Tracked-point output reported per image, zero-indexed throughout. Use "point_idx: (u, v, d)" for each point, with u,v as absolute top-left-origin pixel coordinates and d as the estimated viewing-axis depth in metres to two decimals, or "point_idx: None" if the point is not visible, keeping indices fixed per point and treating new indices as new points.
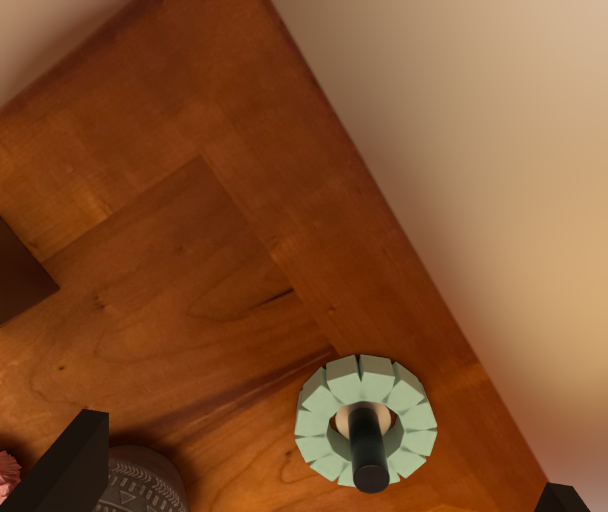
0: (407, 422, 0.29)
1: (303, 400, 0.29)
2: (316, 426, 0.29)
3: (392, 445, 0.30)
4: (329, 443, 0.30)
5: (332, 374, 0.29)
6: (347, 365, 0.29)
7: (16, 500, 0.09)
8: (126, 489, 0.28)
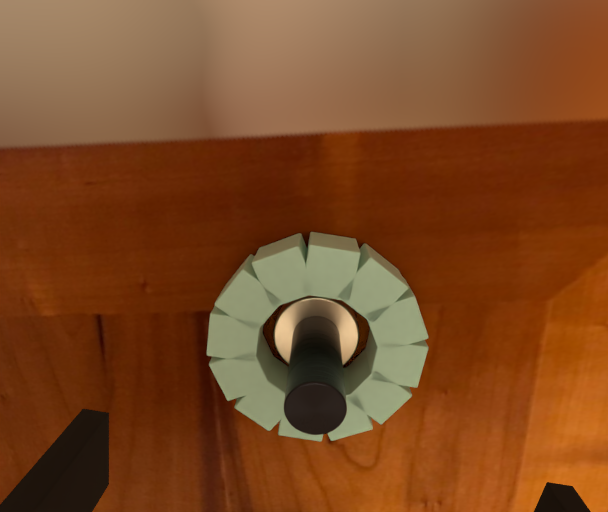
0: (328, 289, 0.18)
1: (226, 393, 0.20)
2: (270, 401, 0.20)
3: None
4: None
5: None
6: None
7: (16, 500, 0.09)
8: None
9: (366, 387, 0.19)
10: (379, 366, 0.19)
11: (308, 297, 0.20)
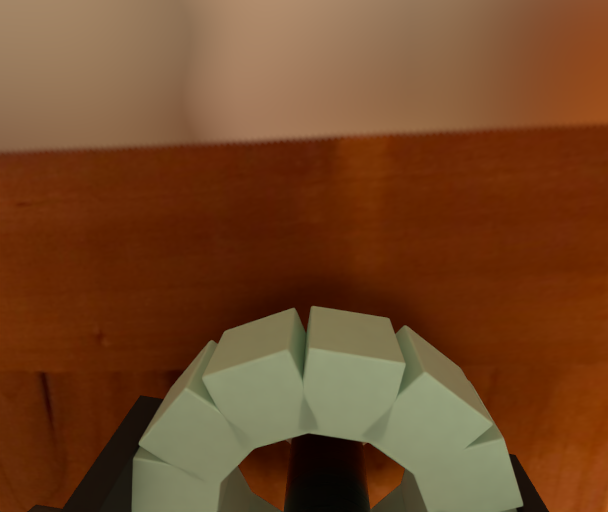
0: (344, 425, 0.10)
1: None
2: None
3: None
4: None
5: None
6: None
7: (96, 474, 0.09)
8: None
9: None
10: None
11: None
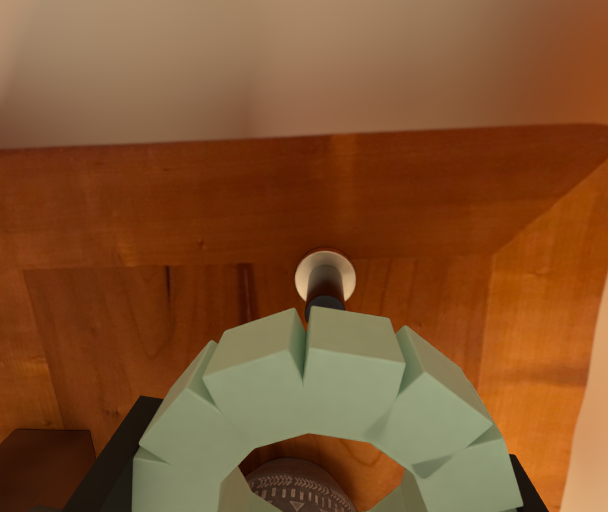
0: (344, 425, 0.10)
1: None
2: None
3: None
4: None
5: None
6: None
7: (97, 474, 0.09)
8: None
9: None
10: None
11: (319, 251, 0.28)
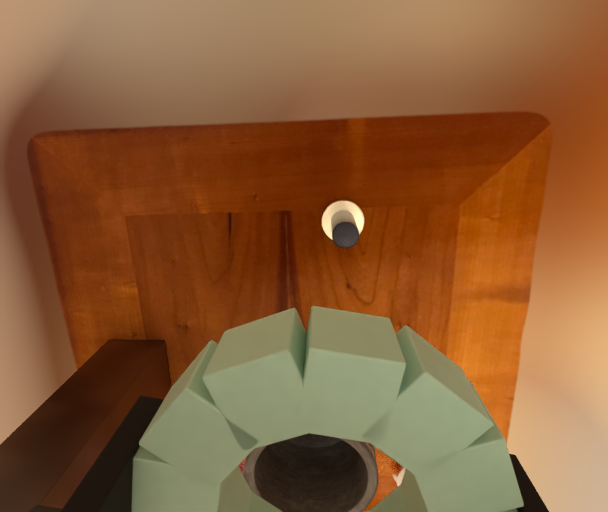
0: (345, 425, 0.10)
1: None
2: None
3: None
4: None
5: None
6: None
7: (96, 474, 0.09)
8: None
9: None
10: None
11: (339, 200, 0.39)
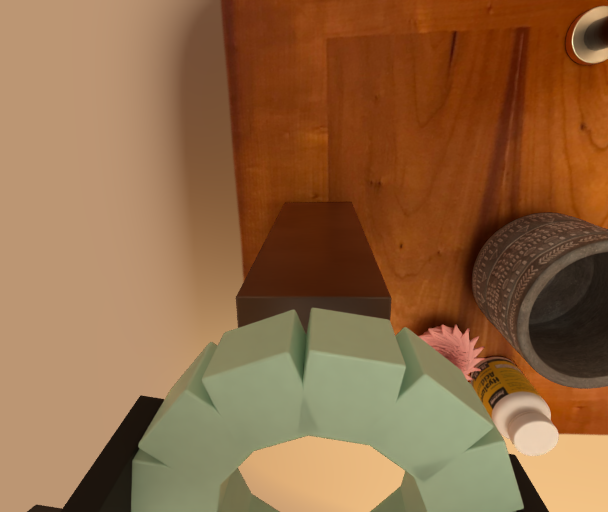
0: (344, 427, 0.10)
1: None
2: None
3: None
4: None
5: None
6: None
7: (97, 474, 0.09)
8: (518, 229, 0.34)
9: None
10: None
11: None
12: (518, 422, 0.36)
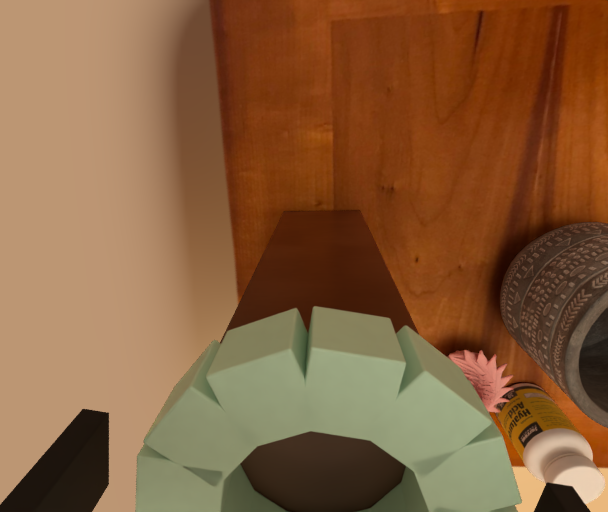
0: (346, 423, 0.10)
1: None
2: None
3: None
4: None
5: None
6: None
7: (16, 500, 0.09)
8: (557, 242, 0.29)
9: None
10: None
11: None
12: (556, 466, 0.31)
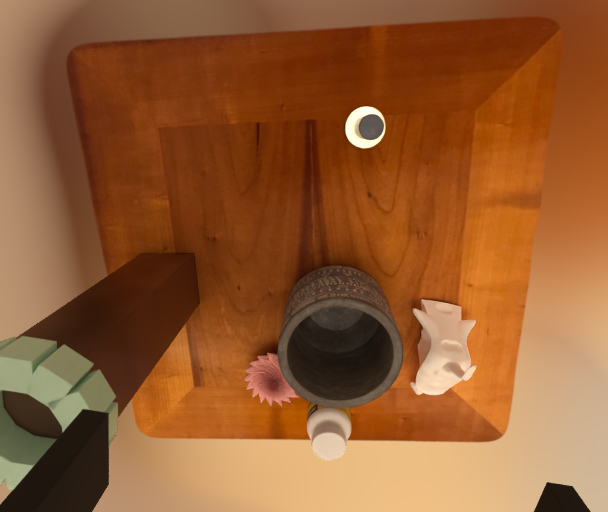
0: (15, 386, 0.24)
1: None
2: None
3: None
4: (22, 463, 0.26)
5: None
6: None
7: (16, 500, 0.09)
8: (306, 280, 0.43)
9: None
10: None
11: (362, 106, 0.42)
12: (315, 433, 0.45)
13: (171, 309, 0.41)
